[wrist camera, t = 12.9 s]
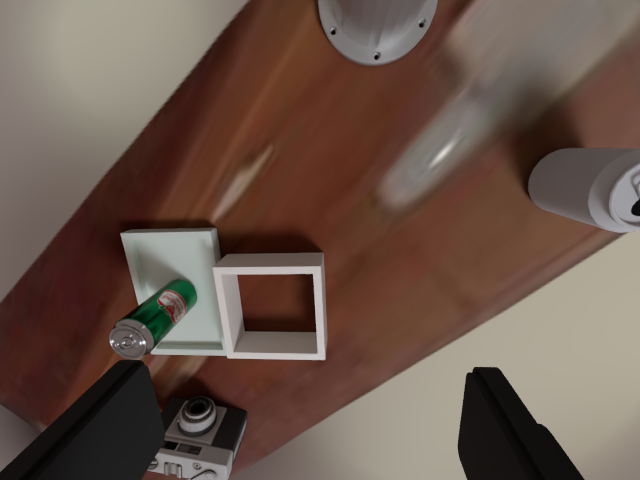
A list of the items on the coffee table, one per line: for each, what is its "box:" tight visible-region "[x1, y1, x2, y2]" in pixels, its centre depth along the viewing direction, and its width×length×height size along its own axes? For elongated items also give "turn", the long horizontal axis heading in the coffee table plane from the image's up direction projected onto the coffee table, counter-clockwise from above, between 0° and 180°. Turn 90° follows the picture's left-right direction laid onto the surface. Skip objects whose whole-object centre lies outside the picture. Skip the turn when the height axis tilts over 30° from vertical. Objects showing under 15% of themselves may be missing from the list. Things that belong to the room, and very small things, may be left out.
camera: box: [147, 396, 247, 480], centre depth 47 cm, size 14×8×10 cm, turn 81°
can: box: [528, 148, 640, 233], centre depth 31 cm, size 8×8×12 cm
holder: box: [213, 253, 327, 360], centre depth 42 cm, size 14×14×5 cm
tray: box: [120, 228, 227, 356], centre depth 44 cm, size 20×13×2 cm, turn 3°
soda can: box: [109, 279, 197, 359], centre depth 39 cm, size 5×5×12 cm
